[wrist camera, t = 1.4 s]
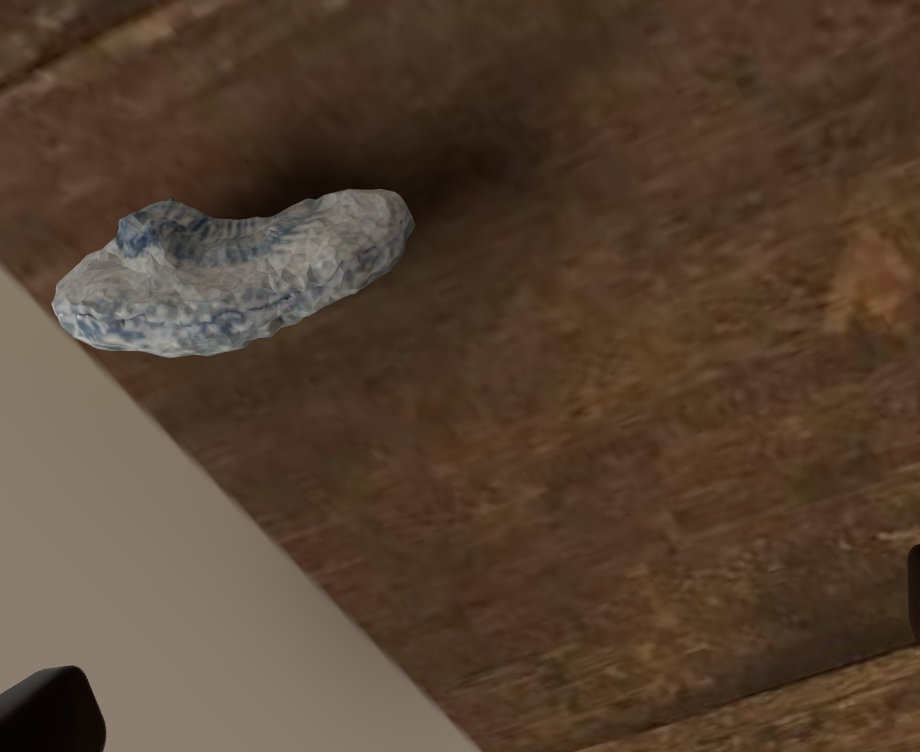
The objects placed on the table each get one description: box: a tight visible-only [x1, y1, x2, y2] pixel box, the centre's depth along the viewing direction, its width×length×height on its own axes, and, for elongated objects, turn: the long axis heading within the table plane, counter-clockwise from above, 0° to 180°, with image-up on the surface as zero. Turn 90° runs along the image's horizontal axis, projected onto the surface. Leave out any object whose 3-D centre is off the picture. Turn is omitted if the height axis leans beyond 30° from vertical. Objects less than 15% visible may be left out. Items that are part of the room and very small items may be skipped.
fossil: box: [51, 189, 415, 358], centre depth 17 cm, size 8×4×5 cm, turn 102°
